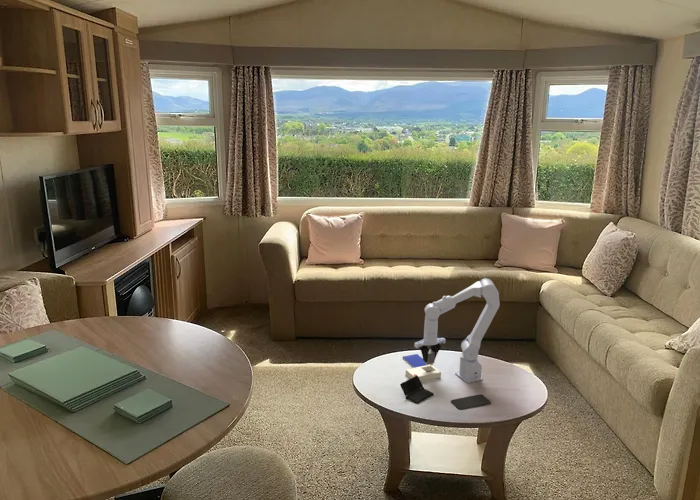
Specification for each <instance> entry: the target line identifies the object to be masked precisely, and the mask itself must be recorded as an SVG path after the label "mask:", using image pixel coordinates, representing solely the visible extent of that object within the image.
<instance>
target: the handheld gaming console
mask: <svg viewBox="0 0 700 500" xmlns="http://www.w3.org/2000/svg"><path fill="white" fill-rule="evenodd" d="M399 385H400V388H401V390H402V391H403V394H404V396H405V399H406V400H408V401H410V402H412V403H414V404H417V405H418V404H420V403H422V402H423V401H425V400H427V399H429V398H431V397H432V396H434V394H435V393H434V392H432V391H430V390H428V389H426V388H425V387H423V386H424V385H423V383H422V381H421V382H420V379H419V377H418V376H415V377H413V378H411V379H410V378H409V379H407V380H405V381H403V382H401V383H400V384H399Z"/></svg>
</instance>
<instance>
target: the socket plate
mask: <svg viewBox="0 0 700 500" xmlns="http://www.w3.org/2000/svg"><path fill="white" fill-rule="evenodd" d="M405 376H406V377H408V378H409V379H411V378H413V377H415V376H418V377H419V379H420V382H421V383H422V382H425V381H429V380H434V379H438V378H441V377H442V371H440V369H438V368H437V367H435V366H434V364H433V365H426V366H420V367H415V368H413V367H411V368H406V369H405Z"/></svg>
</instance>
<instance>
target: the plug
mask: <svg viewBox="0 0 700 500" xmlns="http://www.w3.org/2000/svg"><path fill="white" fill-rule="evenodd" d="M434 360H435V361H436V358H435V352H433V351H432V350H431V349H429V352H428V359H427V362H425V361H424V362H425V363H426V365H428V364H430V365H433V366H434V364H435V361H434Z"/></svg>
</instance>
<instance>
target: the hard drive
mask: <svg viewBox="0 0 700 500" xmlns="http://www.w3.org/2000/svg"><path fill="white" fill-rule="evenodd" d="M401 359H402V360H403V361H405V362H406V363H407V364H408V365H409V366H410V367H411V368H415V367H420V366H426V363H425V362H424V361H423V356H420V355H419V354H418V353H415V354H410V355H405V356H404V355H403V356H402V358H401ZM428 365H430V364H428Z"/></svg>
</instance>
